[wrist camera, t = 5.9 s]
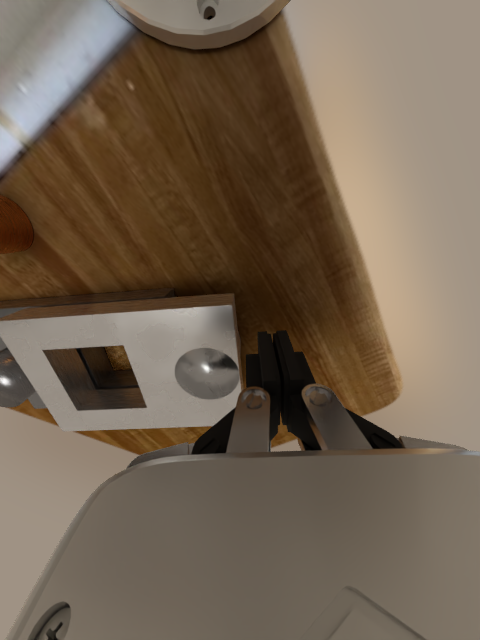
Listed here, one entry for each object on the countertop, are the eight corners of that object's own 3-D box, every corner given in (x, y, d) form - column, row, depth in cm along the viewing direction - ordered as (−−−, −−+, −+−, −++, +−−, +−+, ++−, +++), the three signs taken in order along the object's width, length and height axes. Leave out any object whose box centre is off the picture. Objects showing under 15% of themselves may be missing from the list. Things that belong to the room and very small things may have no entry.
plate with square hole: (235, 284, 14) (231, 304, 11) (245, 384, 18) (244, 424, 15) (51, 298, 15) (-10, 321, 12) (97, 391, 19) (62, 431, 15)
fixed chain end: (173, 287, 15) (147, 311, 11) (195, 384, 19) (182, 428, 15) (-1, 301, 16) (-85, 327, 12) (54, 391, 19) (5, 434, 15)
